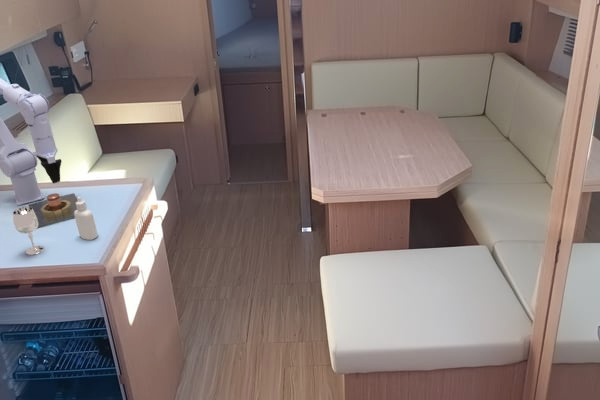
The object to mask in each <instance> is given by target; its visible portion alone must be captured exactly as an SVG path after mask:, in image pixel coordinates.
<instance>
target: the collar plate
mask: <svg viewBox="0 0 600 400" xmlns="http://www.w3.org/2000/svg"><path fill="white" fill-rule="evenodd" d="M60 200H61V203H62V207H63V208H62V209H59V210H55V211H50V208H49V204H48V201H47V199H46V200H40V201H36V202H34V203H33V202H32V203H28V205H27V207H31V208H32V209H33V210H34V212H35V214H36V215H37V218H38V222H39V225H38V227H37V229H39V228H40V229H41V228H44V227H47V226H50V225H54V224H58V223H61V222H65V221H70V220H73V219H75V215H74V212H75V211H76V210H77V207H76V202H78V197H77V195H76V194H75V193H74V192H73V193H68V194H66V195H61V196H60Z"/></svg>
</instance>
